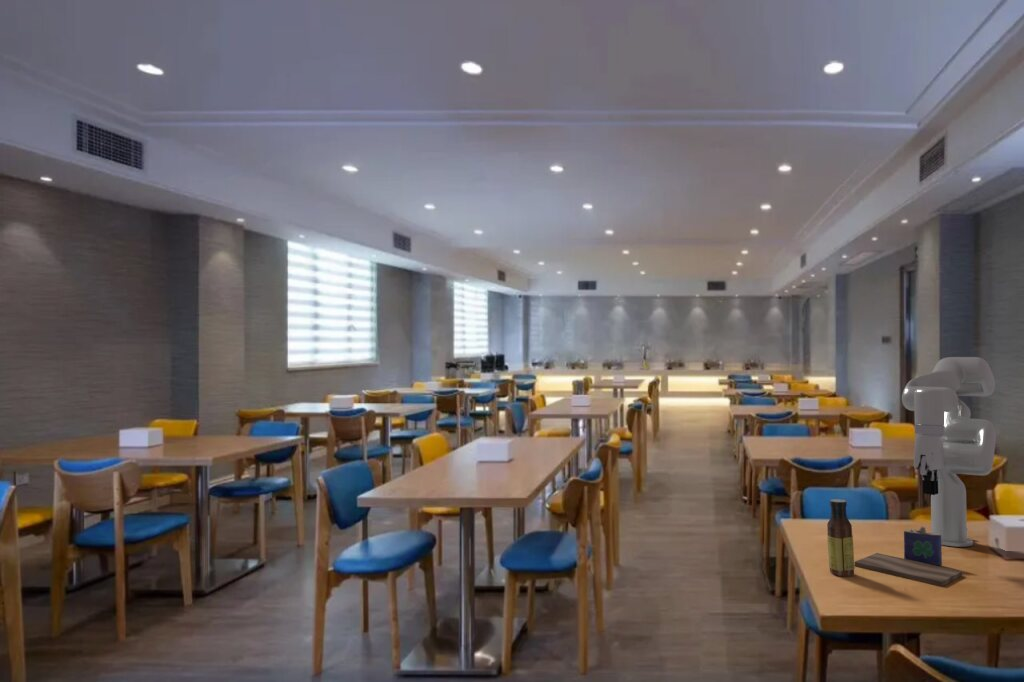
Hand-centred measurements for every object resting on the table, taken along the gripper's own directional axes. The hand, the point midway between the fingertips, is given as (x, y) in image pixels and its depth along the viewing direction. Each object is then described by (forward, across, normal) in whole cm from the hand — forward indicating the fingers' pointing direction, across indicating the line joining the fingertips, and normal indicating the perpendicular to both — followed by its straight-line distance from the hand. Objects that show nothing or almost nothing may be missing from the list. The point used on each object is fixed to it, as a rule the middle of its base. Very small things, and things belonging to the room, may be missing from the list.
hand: (930, 493), depth 197 cm
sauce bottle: (+19, +34, -10) cm, 40 cm away
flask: (+19, +7, 0) cm, 21 cm away
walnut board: (+19, +17, 0) cm, 26 cm away
